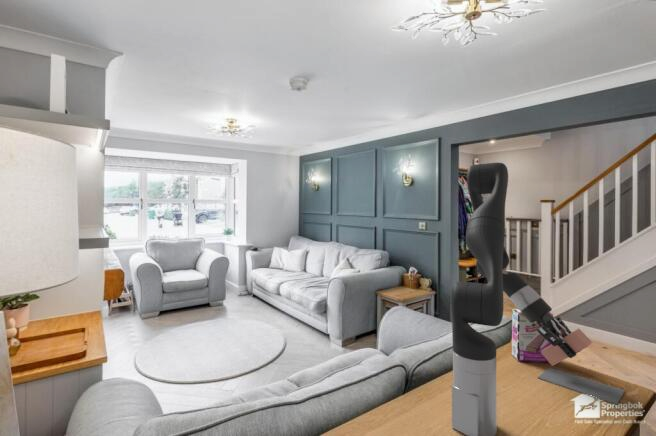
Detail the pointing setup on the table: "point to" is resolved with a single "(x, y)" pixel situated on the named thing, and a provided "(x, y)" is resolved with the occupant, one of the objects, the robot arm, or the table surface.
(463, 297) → the robot arm
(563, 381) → the mat
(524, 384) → the table surface
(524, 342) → the candy bar box
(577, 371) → the table surface
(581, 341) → the block
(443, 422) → the table surface
